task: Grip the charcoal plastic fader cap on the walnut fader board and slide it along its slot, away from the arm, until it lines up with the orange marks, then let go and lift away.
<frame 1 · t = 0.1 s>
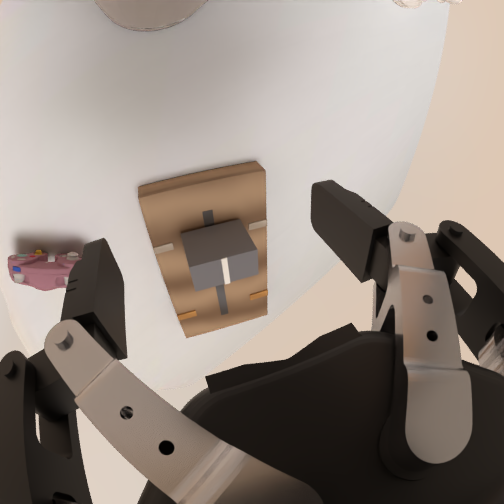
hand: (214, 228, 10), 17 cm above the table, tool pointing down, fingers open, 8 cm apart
fader base: (211, 257, 34), on the table
fader cap: (218, 253, 27), point 6 cm above the table, slide at 0.0 cm
video game controller: (53, 256, 26), on the table
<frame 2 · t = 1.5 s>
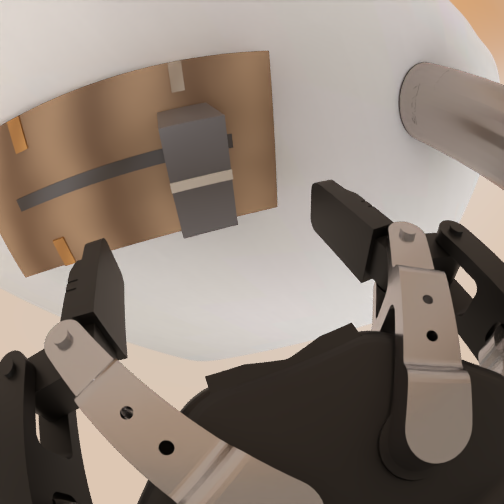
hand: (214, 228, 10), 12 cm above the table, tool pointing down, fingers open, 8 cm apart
fader base: (118, 158, 18), on the table
fader cap: (194, 164, 15), point 6 cm above the table, slide at 0.0 cm
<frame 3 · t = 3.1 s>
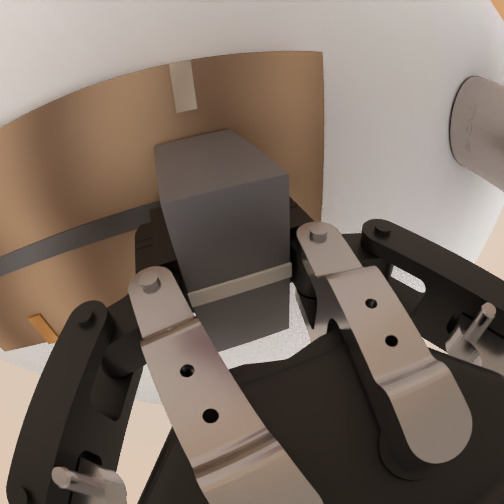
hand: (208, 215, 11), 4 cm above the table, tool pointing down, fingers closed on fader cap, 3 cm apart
fader base: (101, 205, 13), on the table
fader cap: (219, 237, 10), point 6 cm above the table, slide at 0.0 cm, touching gripper
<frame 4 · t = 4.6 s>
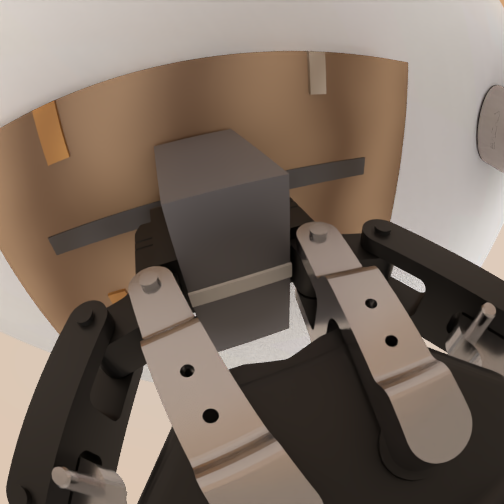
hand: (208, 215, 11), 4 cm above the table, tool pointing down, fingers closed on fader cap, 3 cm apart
fader base: (205, 176, 14), on the table
fader cap: (219, 237, 10), point 6 cm above the table, slide at 5.6 cm, touching gripper
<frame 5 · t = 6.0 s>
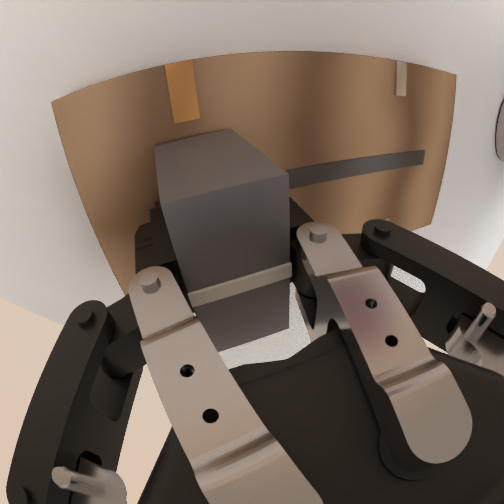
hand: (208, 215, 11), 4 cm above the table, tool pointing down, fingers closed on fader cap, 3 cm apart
fader base: (298, 156, 15), on the table
fader cap: (219, 237, 10), point 6 cm above the table, slide at 10.9 cm, touching gripper
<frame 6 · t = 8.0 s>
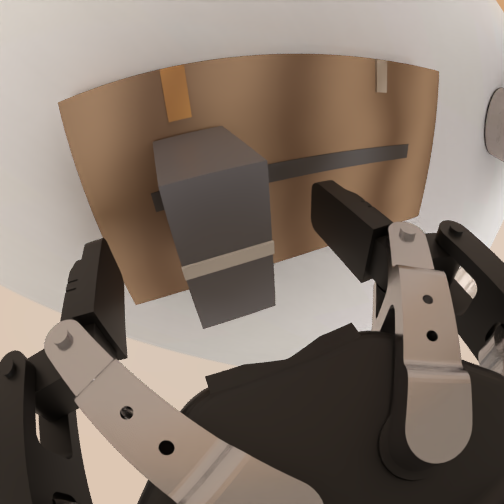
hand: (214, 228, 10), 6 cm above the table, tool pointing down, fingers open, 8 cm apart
fader base: (285, 151, 16), on the table
fader cap: (211, 221, 11), point 6 cm above the table, slide at 10.8 cm
chess pawn: (457, 275, 39), on the table
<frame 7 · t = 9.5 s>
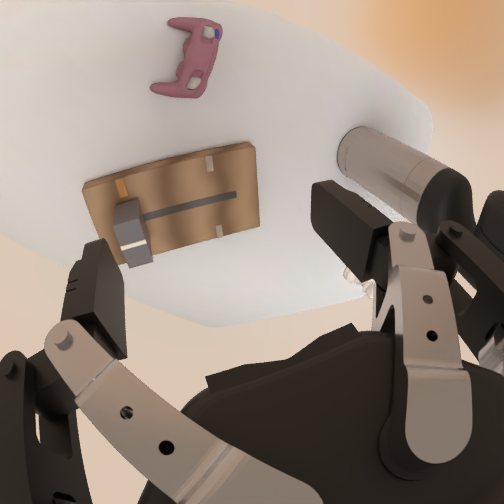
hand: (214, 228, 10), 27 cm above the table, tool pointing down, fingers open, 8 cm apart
fader base: (174, 200, 37), on the table
fader cap: (133, 233, 32), point 6 cm above the table, slide at 10.8 cm
video game controller: (181, 57, 27), on the table
chess pawn: (352, 268, 61), on the table
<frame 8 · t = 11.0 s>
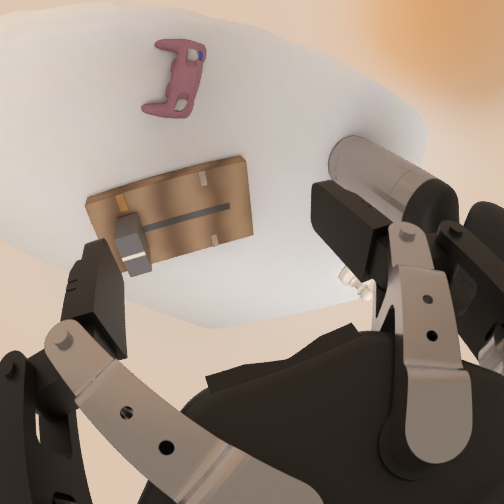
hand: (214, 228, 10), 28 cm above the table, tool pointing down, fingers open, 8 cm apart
fader base: (171, 212, 40), on the table
fader cap: (133, 244, 34), point 6 cm above the table, slide at 10.8 cm
video game controller: (170, 77, 29), on the table
chess pawn: (347, 271, 63), on the table
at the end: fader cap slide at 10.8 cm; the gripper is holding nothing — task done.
